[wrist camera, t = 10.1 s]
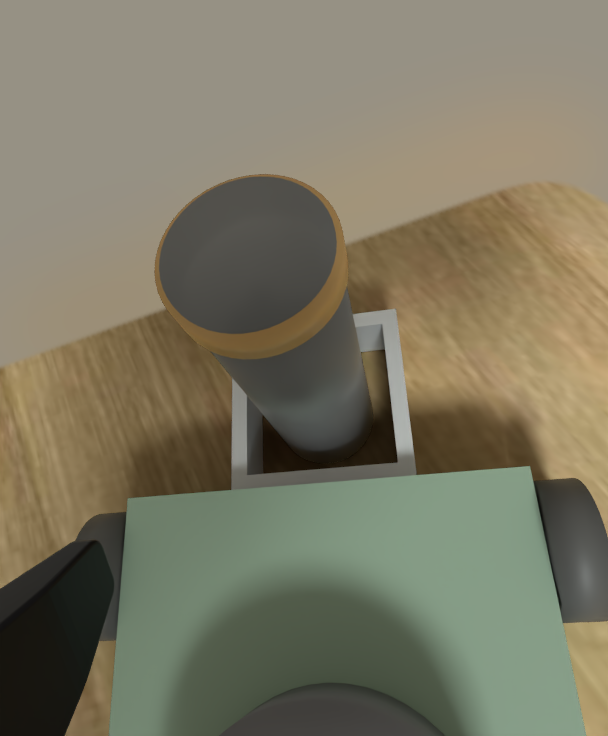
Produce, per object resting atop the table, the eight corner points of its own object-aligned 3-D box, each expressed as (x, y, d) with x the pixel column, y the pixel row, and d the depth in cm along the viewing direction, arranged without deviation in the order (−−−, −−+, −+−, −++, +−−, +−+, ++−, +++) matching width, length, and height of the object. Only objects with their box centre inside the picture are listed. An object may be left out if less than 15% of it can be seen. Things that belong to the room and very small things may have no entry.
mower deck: (712, 1201, 14) (944, 1668, 8) (86, 1134, 16) (-101, 1448, 10) (516, 321, 23) (552, 229, 17) (145, 365, 26) (66, 297, 20)
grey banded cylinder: (385, 457, 22) (359, 314, 11) (283, 475, 23) (155, 356, 11) (366, 362, 24) (326, 153, 13) (271, 380, 24) (150, 195, 13)
